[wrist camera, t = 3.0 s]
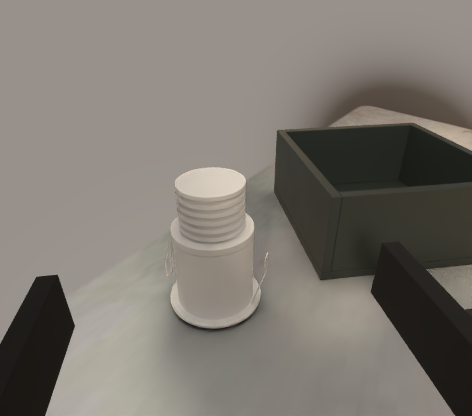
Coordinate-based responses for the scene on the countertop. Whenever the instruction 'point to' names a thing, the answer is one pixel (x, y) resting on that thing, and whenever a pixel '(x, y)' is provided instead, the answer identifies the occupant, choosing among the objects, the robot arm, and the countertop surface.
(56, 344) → the robot arm
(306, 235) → the dark grey open box
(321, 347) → the countertop surface
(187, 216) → the downlight
